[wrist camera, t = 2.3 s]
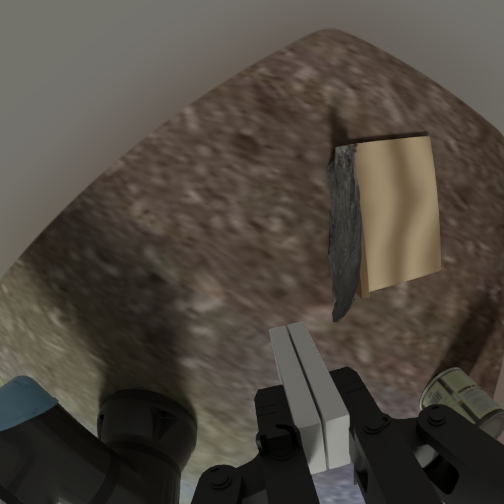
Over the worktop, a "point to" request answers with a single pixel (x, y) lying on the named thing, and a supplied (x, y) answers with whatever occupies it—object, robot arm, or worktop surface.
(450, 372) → the coffee can
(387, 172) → the board
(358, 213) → the stone slab
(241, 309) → the worktop surface
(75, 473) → the robot arm
